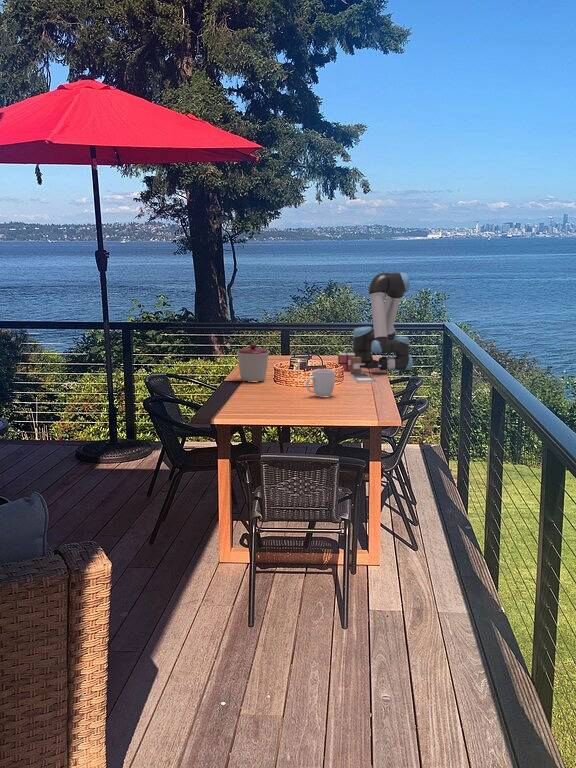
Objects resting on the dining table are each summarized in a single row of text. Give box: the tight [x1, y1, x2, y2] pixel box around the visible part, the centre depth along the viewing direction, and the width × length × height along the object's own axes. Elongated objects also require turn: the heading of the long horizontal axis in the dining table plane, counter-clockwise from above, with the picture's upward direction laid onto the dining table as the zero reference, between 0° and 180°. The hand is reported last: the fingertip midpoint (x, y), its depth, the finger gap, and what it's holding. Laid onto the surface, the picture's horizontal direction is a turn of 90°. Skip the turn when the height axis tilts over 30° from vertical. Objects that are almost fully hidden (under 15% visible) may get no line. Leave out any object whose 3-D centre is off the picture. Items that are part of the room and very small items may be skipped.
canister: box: [236, 343, 270, 382], centre depth 440 cm, size 18×18×21 cm
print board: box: [351, 376, 377, 383], centre depth 446 cm, size 11×11×1 cm
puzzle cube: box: [337, 352, 356, 373], centre depth 479 cm, size 10×10×10 cm
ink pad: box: [349, 372, 370, 378], centre depth 457 cm, size 9×9×1 cm
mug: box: [305, 368, 336, 397], centre depth 399 cm, size 15×11×13 cm
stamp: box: [350, 357, 362, 374], centre depth 465 cm, size 5×5×10 cm
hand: (350, 364), depth 464 cm, fingers open, 13 cm apart
